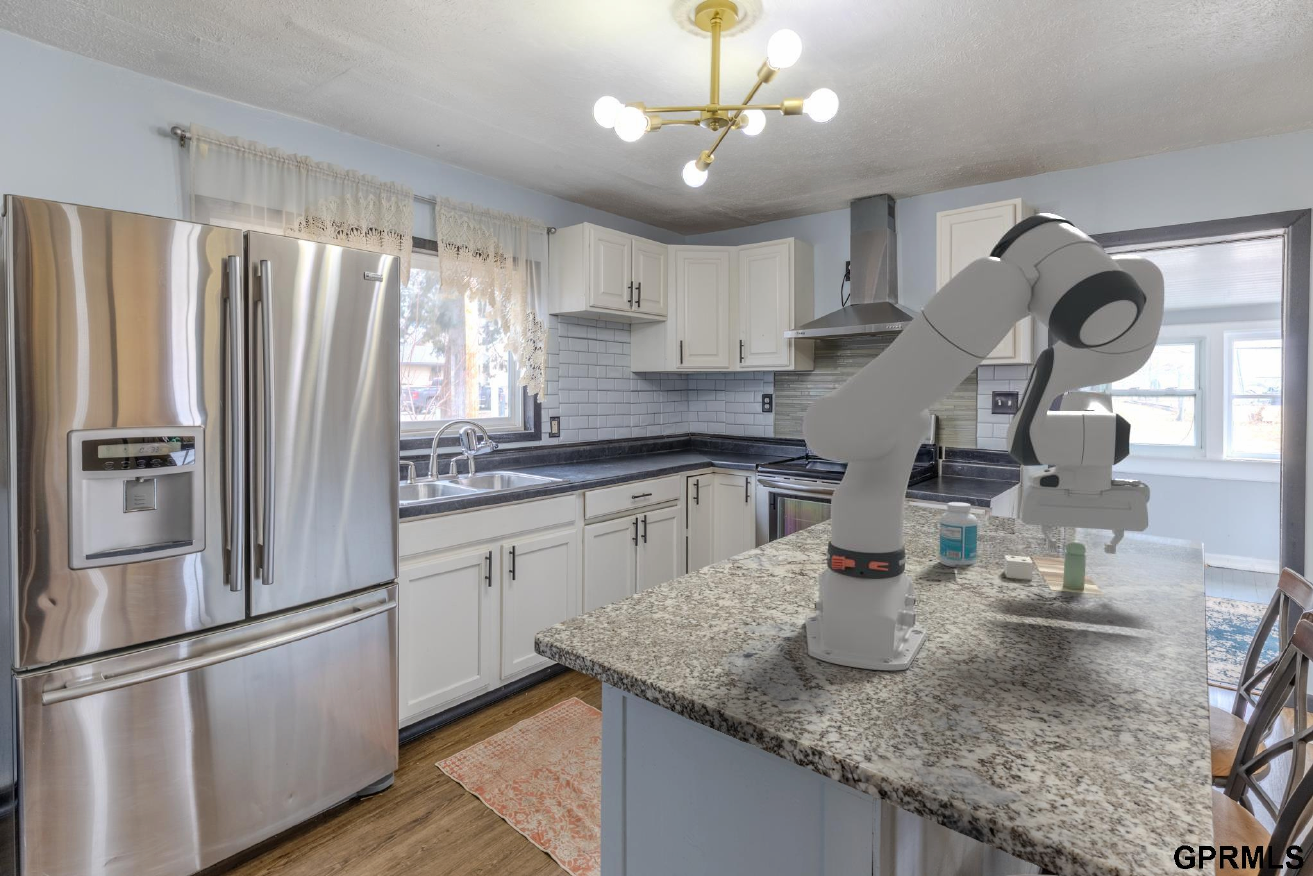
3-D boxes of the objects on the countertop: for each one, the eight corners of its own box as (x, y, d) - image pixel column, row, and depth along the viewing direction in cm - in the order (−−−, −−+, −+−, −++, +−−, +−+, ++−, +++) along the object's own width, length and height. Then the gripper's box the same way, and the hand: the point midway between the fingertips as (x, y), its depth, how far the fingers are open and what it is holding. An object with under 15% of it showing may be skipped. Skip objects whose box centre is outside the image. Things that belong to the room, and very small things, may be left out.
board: (1105, 600, 121) (1105, 595, 121) (1049, 594, 124) (1049, 589, 124) (1075, 563, 145) (1075, 559, 145) (1028, 559, 148) (1028, 555, 148)
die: (1031, 585, 130) (1032, 562, 130) (1006, 582, 132) (1007, 560, 132) (1028, 578, 135) (1029, 556, 134) (1003, 576, 136) (1004, 554, 136)
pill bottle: (968, 560, 148) (970, 500, 147) (981, 569, 141) (984, 507, 140) (934, 559, 149) (936, 500, 148) (945, 568, 142) (947, 506, 140)
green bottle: (1086, 591, 123) (1088, 543, 122) (1064, 588, 124) (1067, 542, 124) (1082, 585, 126) (1084, 539, 125) (1061, 583, 128) (1064, 538, 127)
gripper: (1145, 478, 122) (1141, 551, 123) (1019, 473, 130) (1017, 542, 131) (1155, 483, 116) (1152, 560, 117) (1023, 478, 124) (1021, 550, 125)
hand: (1080, 550), depth 124 cm, fingers open, 8 cm apart
